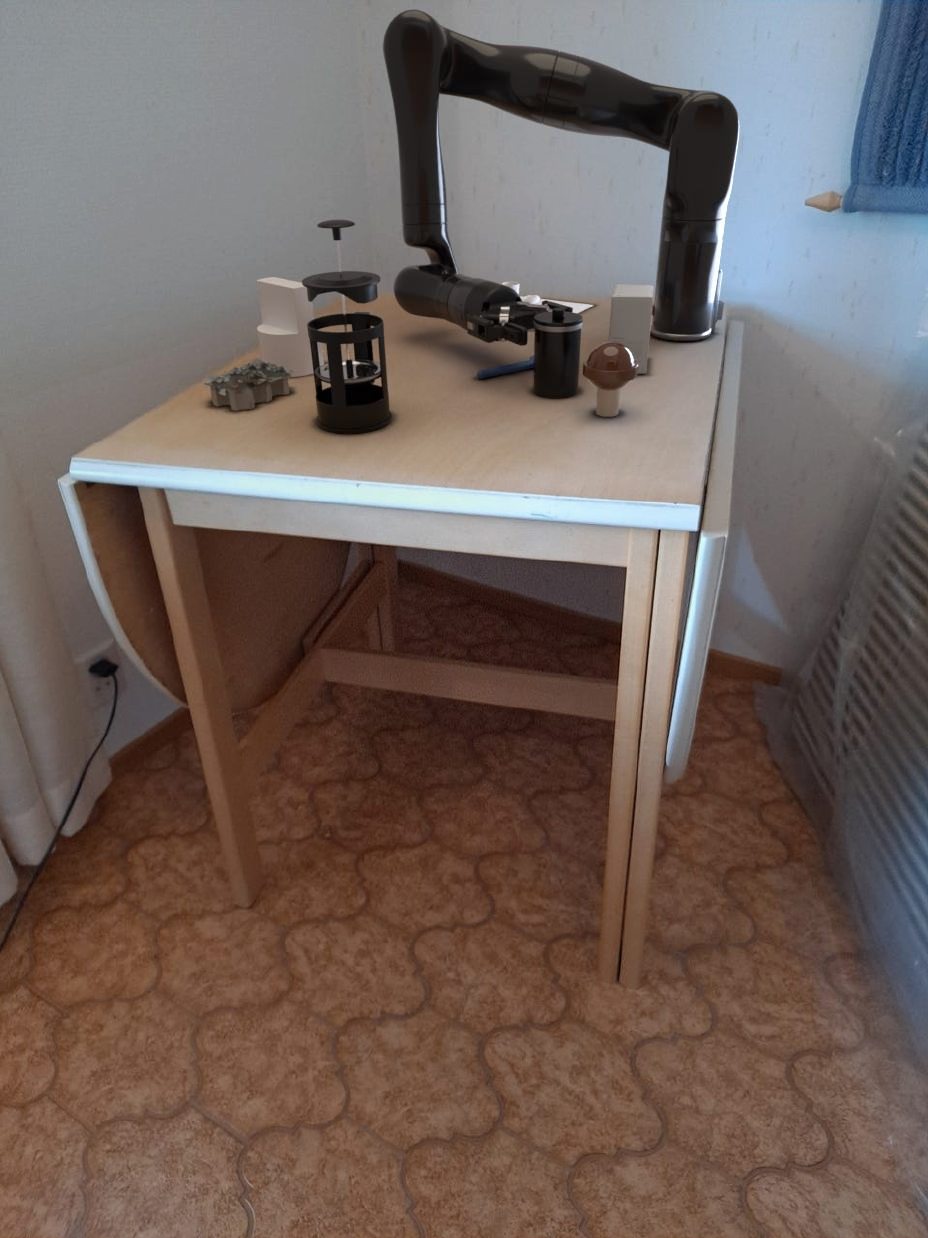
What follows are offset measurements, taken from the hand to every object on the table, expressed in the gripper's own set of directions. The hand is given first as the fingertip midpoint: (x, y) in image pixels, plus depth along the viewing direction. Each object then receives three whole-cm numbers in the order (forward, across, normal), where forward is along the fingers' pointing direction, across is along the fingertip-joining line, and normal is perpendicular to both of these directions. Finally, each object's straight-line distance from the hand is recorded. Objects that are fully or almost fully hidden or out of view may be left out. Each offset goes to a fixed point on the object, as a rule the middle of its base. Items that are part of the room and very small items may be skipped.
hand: (552, 332), depth 113 cm
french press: (-5, -27, +8) cm, 28 cm away
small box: (-2, +15, +8) cm, 17 cm away
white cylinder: (-30, -25, +8) cm, 39 cm away
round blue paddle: (-9, +1, +8) cm, 12 cm away
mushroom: (+12, 0, +8) cm, 14 cm away
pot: (+1, 0, +8) cm, 8 cm away
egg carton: (-21, -35, +8) cm, 41 cm away
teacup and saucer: (-38, +21, +8) cm, 44 cm away
